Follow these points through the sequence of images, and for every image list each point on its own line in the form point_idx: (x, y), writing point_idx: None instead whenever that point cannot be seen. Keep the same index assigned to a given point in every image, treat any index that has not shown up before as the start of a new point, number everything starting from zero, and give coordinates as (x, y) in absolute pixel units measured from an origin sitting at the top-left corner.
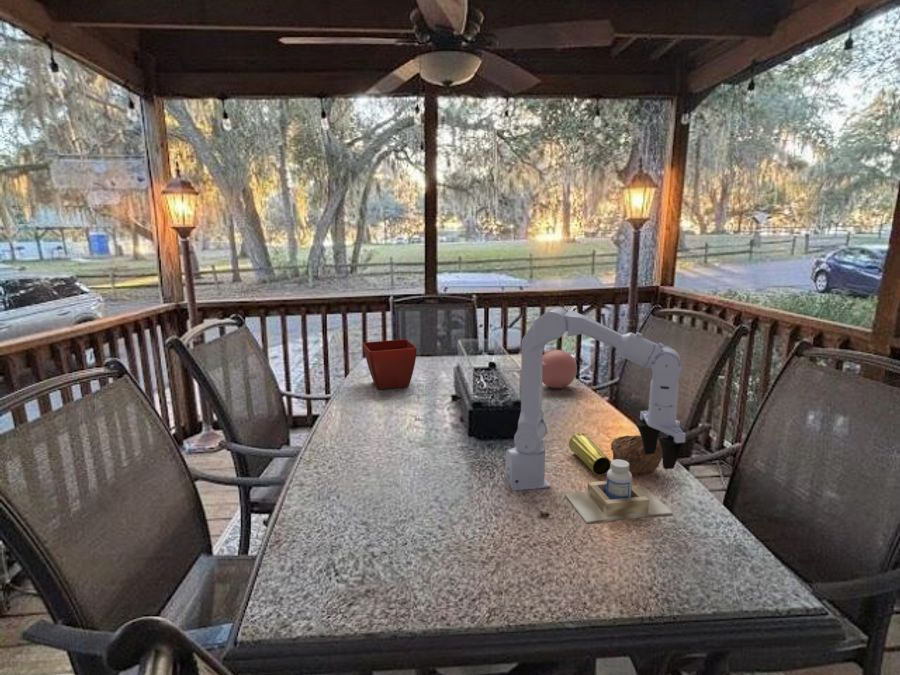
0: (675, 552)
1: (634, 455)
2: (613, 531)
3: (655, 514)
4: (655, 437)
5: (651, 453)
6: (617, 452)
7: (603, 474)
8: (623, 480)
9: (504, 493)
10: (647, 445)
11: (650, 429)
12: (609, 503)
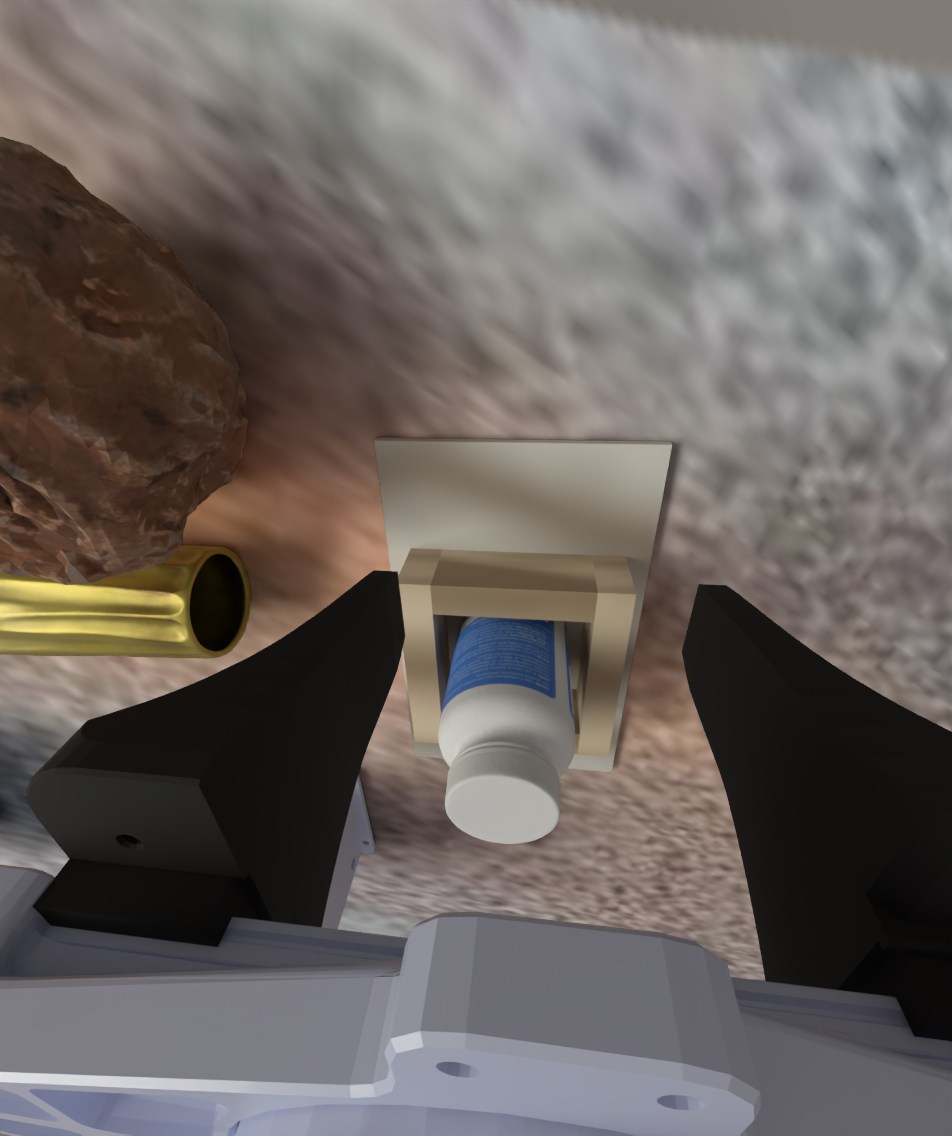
0: (930, 606)
1: (173, 487)
2: (690, 721)
3: (654, 535)
4: (331, 681)
5: (399, 598)
6: (140, 568)
7: (241, 566)
8: (573, 755)
9: (385, 862)
10: (379, 689)
11: (298, 839)
12: (607, 748)
